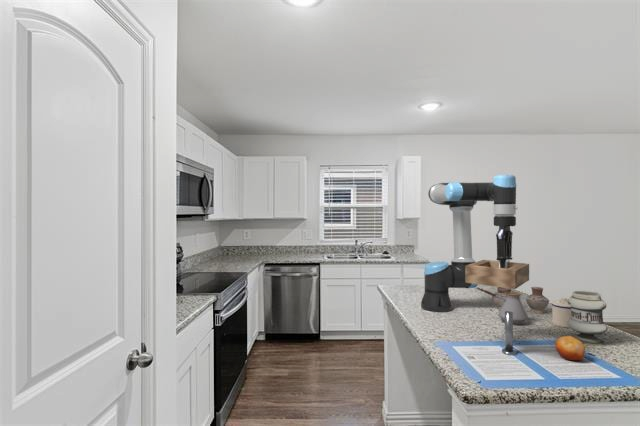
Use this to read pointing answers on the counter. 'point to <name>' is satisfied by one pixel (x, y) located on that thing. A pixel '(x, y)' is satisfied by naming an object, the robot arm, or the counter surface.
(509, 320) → the metal post
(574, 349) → the fruit
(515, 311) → the coffee pot
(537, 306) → the pottery
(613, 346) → the counter surface
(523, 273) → the walnut box
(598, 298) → the apothecary jar
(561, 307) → the teacup with lid
